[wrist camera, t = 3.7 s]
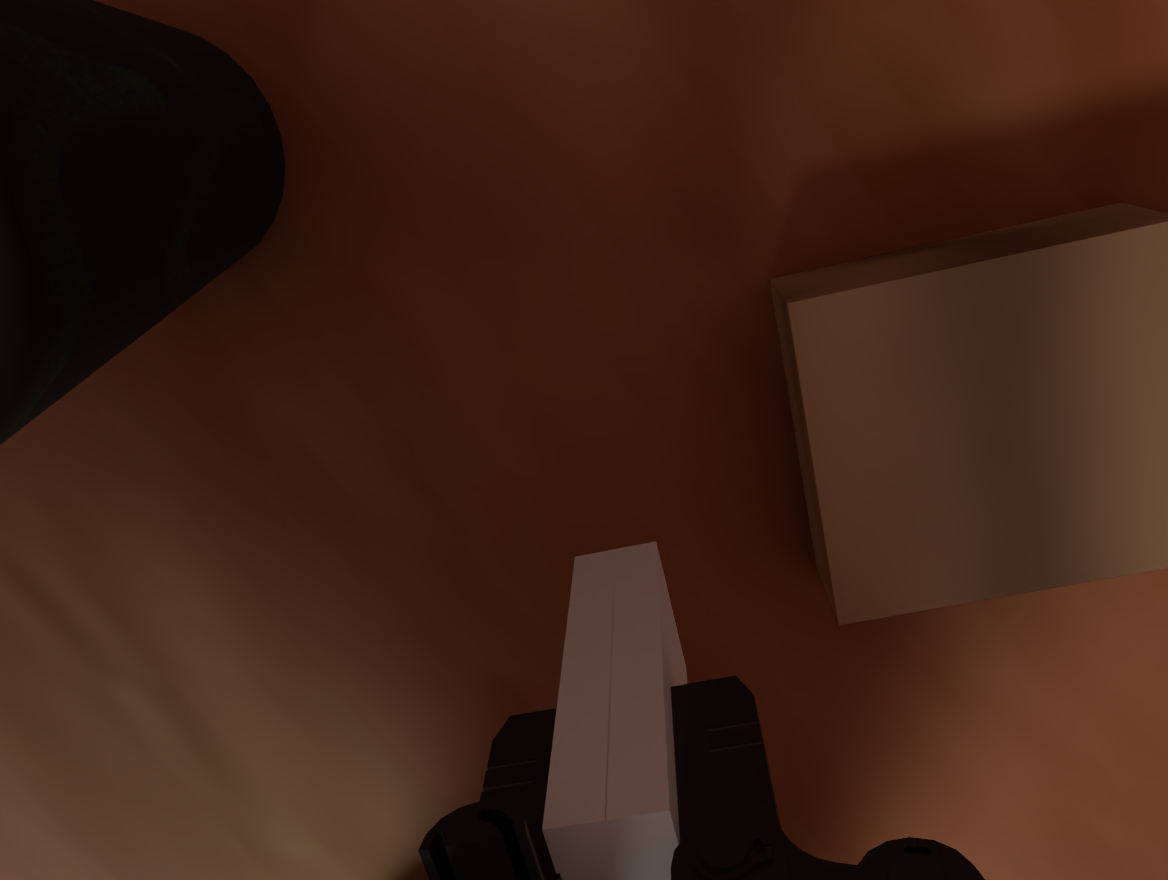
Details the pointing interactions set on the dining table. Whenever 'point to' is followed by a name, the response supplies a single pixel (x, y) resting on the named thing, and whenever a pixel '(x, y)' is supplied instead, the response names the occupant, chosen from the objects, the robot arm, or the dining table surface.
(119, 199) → the cup
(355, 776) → the dining table surface
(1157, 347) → the tan square block
